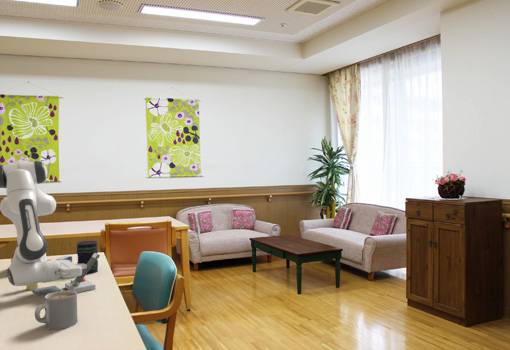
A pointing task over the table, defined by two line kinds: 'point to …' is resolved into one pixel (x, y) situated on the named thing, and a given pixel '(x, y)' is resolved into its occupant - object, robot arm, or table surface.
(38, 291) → the pad
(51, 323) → the coffee mug
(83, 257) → the storage jar
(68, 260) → the medicine box
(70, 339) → the table surface
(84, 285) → the panel
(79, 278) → the toggle
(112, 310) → the table surface
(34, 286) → the yellow lidded cup
